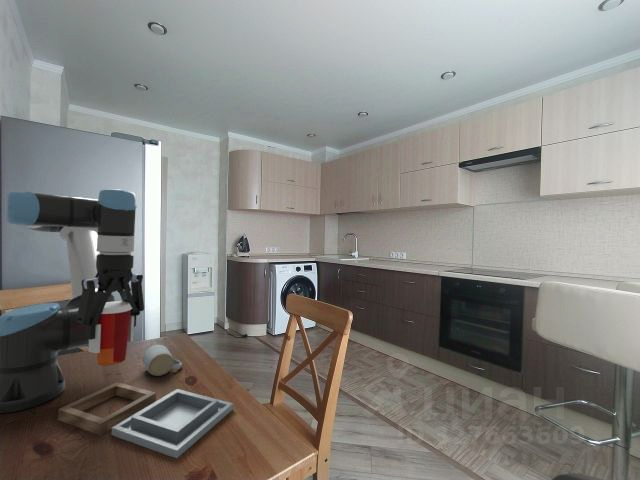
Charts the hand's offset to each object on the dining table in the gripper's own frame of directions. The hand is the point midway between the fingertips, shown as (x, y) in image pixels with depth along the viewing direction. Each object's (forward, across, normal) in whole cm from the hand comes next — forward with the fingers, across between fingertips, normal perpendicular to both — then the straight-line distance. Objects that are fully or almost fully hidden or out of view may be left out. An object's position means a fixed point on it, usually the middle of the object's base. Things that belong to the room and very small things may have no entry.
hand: (112, 345), depth 73 cm
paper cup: (+4, 0, 0) cm, 4 cm away
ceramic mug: (+16, +21, +6) cm, 27 cm away
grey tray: (+16, +3, -18) cm, 24 cm away
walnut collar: (+16, 0, 0) cm, 16 cm away
